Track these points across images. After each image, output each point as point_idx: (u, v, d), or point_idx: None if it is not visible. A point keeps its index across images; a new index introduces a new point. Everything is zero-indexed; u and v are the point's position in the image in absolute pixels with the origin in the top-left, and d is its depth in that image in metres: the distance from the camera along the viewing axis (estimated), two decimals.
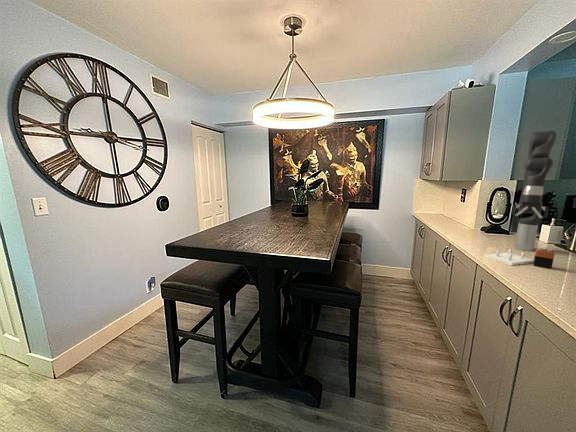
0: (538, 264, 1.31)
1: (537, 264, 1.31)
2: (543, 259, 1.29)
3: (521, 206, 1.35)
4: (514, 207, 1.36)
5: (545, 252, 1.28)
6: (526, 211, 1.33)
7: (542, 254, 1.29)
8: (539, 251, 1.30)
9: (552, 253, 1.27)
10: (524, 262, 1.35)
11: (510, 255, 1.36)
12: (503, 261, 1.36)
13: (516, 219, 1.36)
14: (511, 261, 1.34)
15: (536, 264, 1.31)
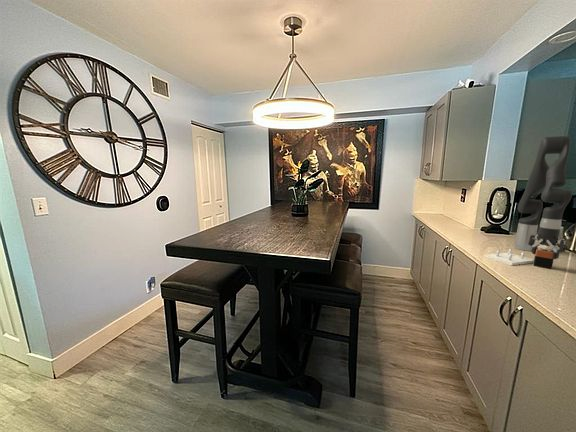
0: (538, 264, 1.31)
1: (537, 264, 1.31)
2: (543, 259, 1.29)
3: (538, 238, 1.32)
4: (531, 238, 1.34)
5: (545, 252, 1.28)
6: (542, 243, 1.30)
7: (542, 254, 1.29)
8: (539, 251, 1.30)
9: (552, 253, 1.27)
10: (524, 262, 1.35)
11: (510, 255, 1.36)
12: (503, 261, 1.36)
13: (533, 250, 1.34)
14: (511, 261, 1.34)
15: (536, 264, 1.31)
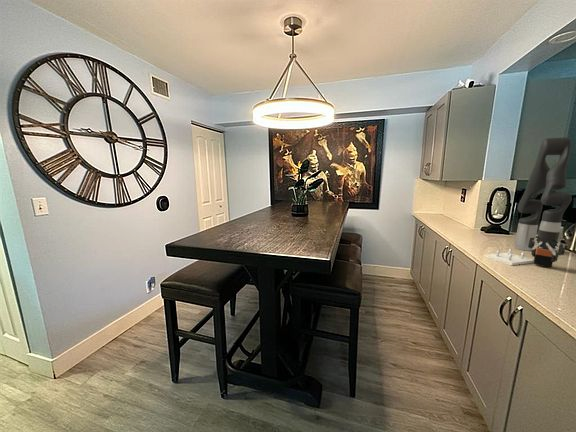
0: (538, 263, 1.31)
1: (537, 262, 1.31)
2: (543, 258, 1.29)
3: (537, 240, 1.32)
4: (530, 241, 1.35)
5: (545, 250, 1.28)
6: (542, 246, 1.30)
7: (542, 252, 1.29)
8: (539, 249, 1.30)
9: None
10: (524, 262, 1.35)
11: (510, 255, 1.36)
12: (503, 261, 1.36)
13: (532, 253, 1.34)
14: (511, 261, 1.34)
15: (536, 262, 1.31)
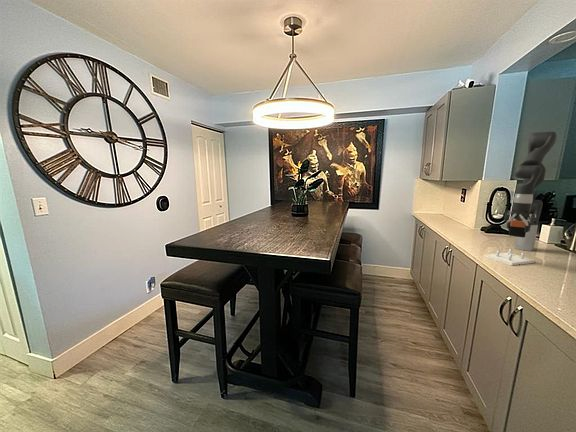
0: (512, 234, 1.37)
1: (512, 234, 1.37)
2: (517, 229, 1.35)
3: (511, 213, 1.39)
4: (506, 214, 1.41)
5: (519, 222, 1.35)
6: (516, 218, 1.37)
7: (516, 224, 1.36)
8: (513, 221, 1.36)
9: None
10: (524, 262, 1.35)
11: (510, 255, 1.36)
12: (503, 261, 1.36)
13: (507, 225, 1.41)
14: (511, 261, 1.34)
15: (511, 234, 1.38)
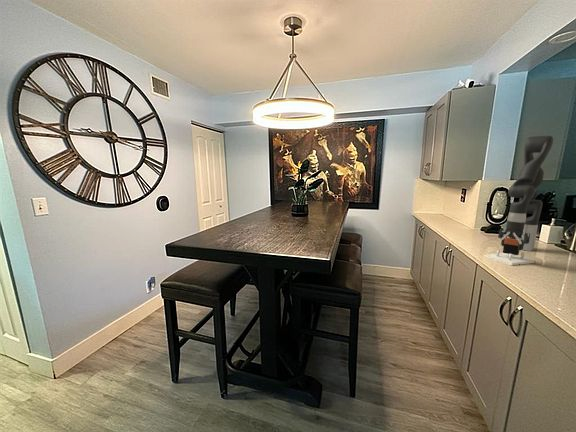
0: (506, 251, 1.40)
1: (506, 251, 1.40)
2: (511, 246, 1.38)
3: (506, 231, 1.41)
4: (500, 231, 1.44)
5: (512, 240, 1.37)
6: (509, 236, 1.39)
7: (510, 242, 1.38)
8: (507, 239, 1.39)
9: None
10: (524, 262, 1.35)
11: (510, 255, 1.36)
12: (503, 261, 1.36)
13: (502, 243, 1.44)
14: (511, 261, 1.34)
15: (505, 251, 1.40)
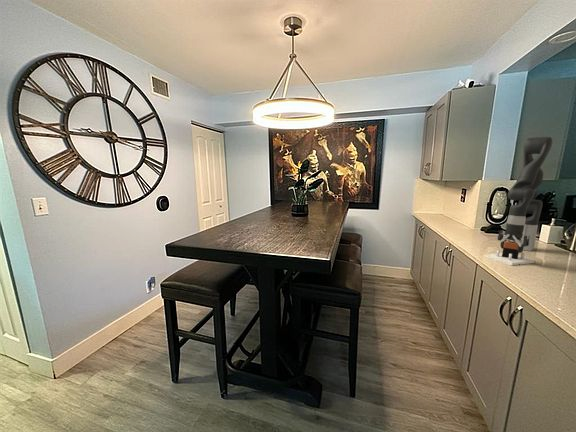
0: (505, 255, 1.41)
1: (505, 255, 1.41)
2: (510, 250, 1.39)
3: (505, 233, 1.42)
4: (500, 233, 1.44)
5: (512, 244, 1.38)
6: (509, 238, 1.40)
7: (509, 245, 1.39)
8: (506, 243, 1.40)
9: None
10: (524, 262, 1.35)
11: (510, 255, 1.36)
12: (503, 261, 1.36)
13: (501, 245, 1.44)
14: (511, 261, 1.34)
15: (504, 255, 1.41)
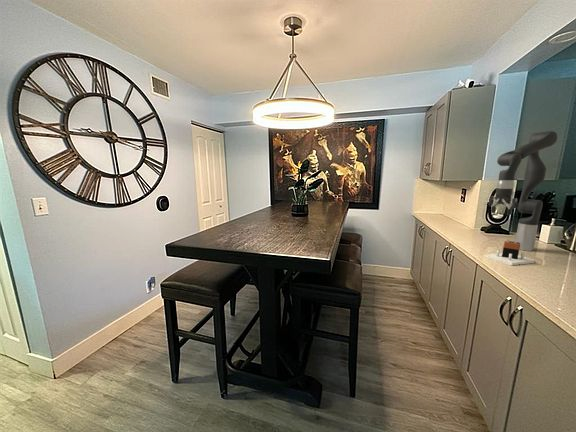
0: (505, 255, 1.41)
1: (505, 255, 1.41)
2: (510, 250, 1.39)
3: (495, 198, 1.50)
4: (490, 199, 1.53)
5: (512, 244, 1.38)
6: (499, 202, 1.49)
7: (509, 245, 1.39)
8: (506, 243, 1.40)
9: (518, 244, 1.36)
10: (524, 262, 1.35)
11: (510, 255, 1.36)
12: (503, 261, 1.36)
13: (491, 210, 1.53)
14: (511, 261, 1.34)
15: (504, 255, 1.41)
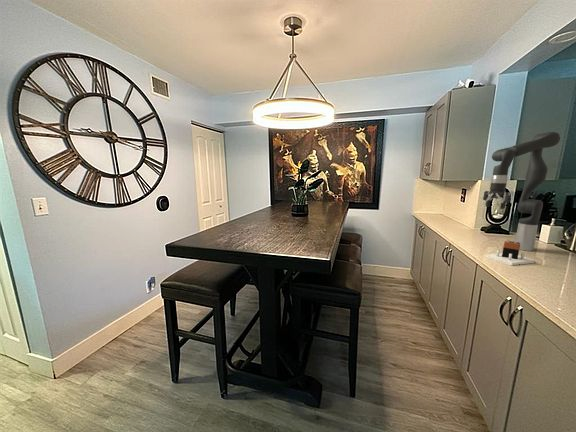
0: (505, 255, 1.41)
1: (505, 255, 1.41)
2: (510, 250, 1.39)
3: (489, 192, 1.56)
4: (485, 193, 1.58)
5: (512, 244, 1.38)
6: (493, 197, 1.54)
7: (509, 245, 1.39)
8: (506, 243, 1.40)
9: (518, 244, 1.36)
10: (524, 262, 1.35)
11: (510, 255, 1.36)
12: (503, 261, 1.36)
13: (486, 204, 1.58)
14: (511, 261, 1.34)
15: (504, 255, 1.41)
